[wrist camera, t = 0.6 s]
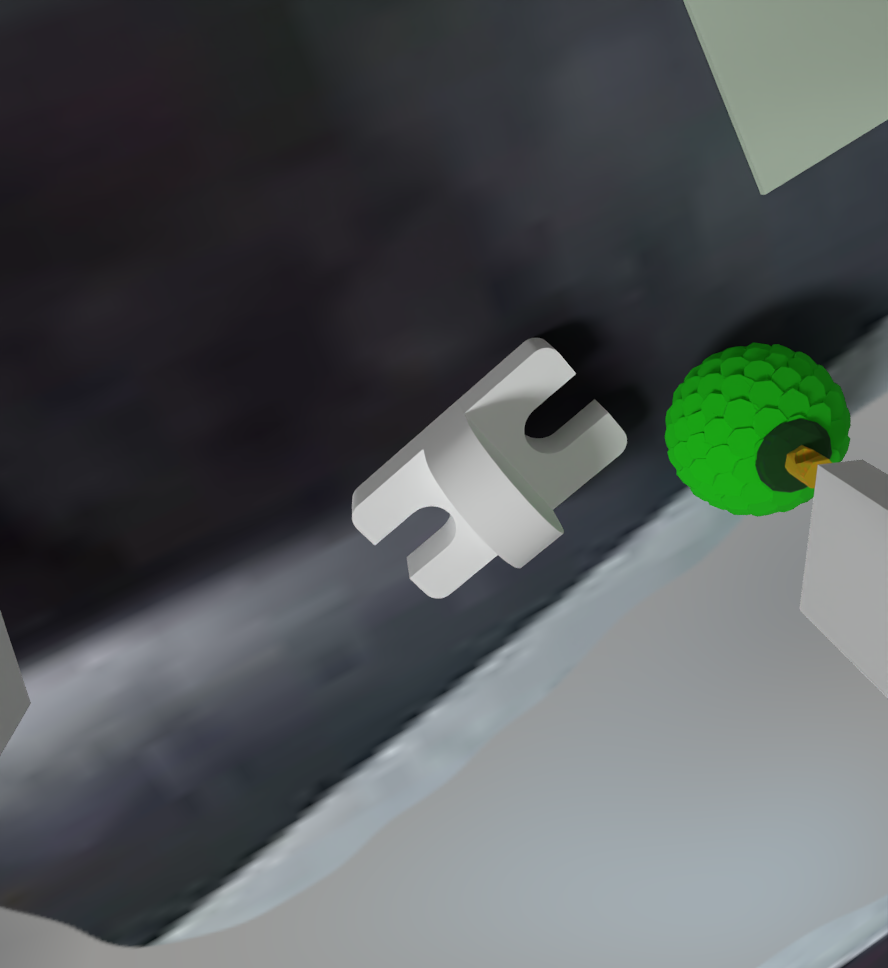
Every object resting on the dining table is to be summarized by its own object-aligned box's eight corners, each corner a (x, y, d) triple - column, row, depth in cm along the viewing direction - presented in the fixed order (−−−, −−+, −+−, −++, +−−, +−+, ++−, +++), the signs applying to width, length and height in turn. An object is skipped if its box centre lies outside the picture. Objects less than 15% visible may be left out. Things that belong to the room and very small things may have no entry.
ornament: (664, 499, 43) (748, 590, 34) (623, 364, 40) (703, 424, 31) (804, 444, 43) (929, 520, 33) (774, 303, 40) (902, 344, 30)
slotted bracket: (432, 580, 44) (448, 662, 37) (345, 496, 41) (343, 566, 34) (617, 427, 41) (672, 482, 34) (536, 329, 39) (577, 366, 32)
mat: (675, -19, 34) (679, -21, 33) (933, -188, 33) (940, -192, 32) (760, 194, 38) (764, 194, 37) (995, 50, 36) (1002, 49, 36)
